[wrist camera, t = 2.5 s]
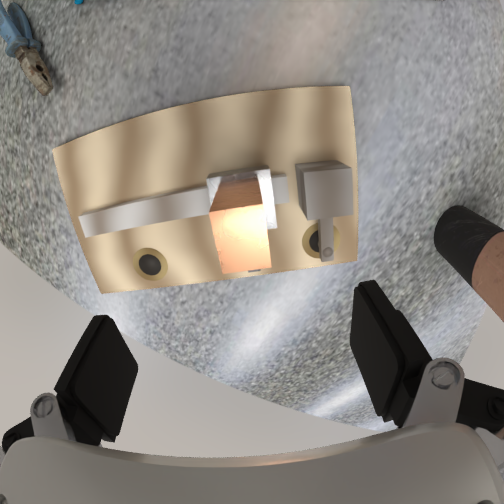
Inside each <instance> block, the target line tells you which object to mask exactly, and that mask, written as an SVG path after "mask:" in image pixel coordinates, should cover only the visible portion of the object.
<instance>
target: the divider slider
mask: <svg viewBox="0 0 504 504" xmlns="http://www.w3.org/2000/svg"><path fill="white" fill-rule="evenodd" d="M206 181H207V186H208V191H209V196H210V201H211V208H210V210H209V216H210V220H211V225H212V229H213V234H214V239H215V243H216V248H217V252H218V256H219V261H220V265H221V270H222V274H227V273H234V272H242V271H248V273H249V272H257V271H261V269H264V268H271V267H272V266H271V258H270V250H269V243H268V235H267V229H273V228H277V222H276V213H275V205H274V197H273V189H272V182H271V174H270V168H269V166H268V165H262V166H255V167H248V168H241V169H235V170H228V171H222V172H217V173H211V174H209V175H208V176H207V178H206Z"/></svg>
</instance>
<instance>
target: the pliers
mask: <svg viewBox="0 0 504 504" xmlns="http://www.w3.org/2000/svg"><path fill="white" fill-rule="evenodd" d="M7 12H8V14H9V15H10V17H11V19H12V20H11V19H10V17H9V16H8V14H7ZM7 12H6V11H5V9H4V7H3V5H2V2H1V0H0V35H1V36H2V37H3V39H4V40H5V41H6V42H7V44H8V46H7V48H6V50H5V52H6V54H7V55H8V56H10V57H14V58H15V57H16V58H17V59H18V60H19V62H20V66H21V68H22V70H23V72H24V73H25V75H26V77H27V78H28V79H29V81H30V82H31V83H32V84H33V85H34V86H35V87H36V89H37V90H38V91H39V92H40V93H41V94H42V95H43V96H45V95H46V96H47V95H48V94H49V93H50V91H51V90H52V89H53V85H52V81H51V78H50V75H49V71H48V69H47V67H46V65H45V63H44V62H43V60H42V59H41V58H40V56H39V53H38V52H39V51H40V49H41V44H40V42H38V41H37V40H34V39H32V34H31V29H30V25H29V22H28V19H27V17H26V15H25V13H24V12H23V10H22V9H21V8H20V7H19V6H18V5H17V4H16V3H10V5H9V7H8V10H7Z"/></svg>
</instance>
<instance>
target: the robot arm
mask: <svg viewBox="0 0 504 504" xmlns="http://www.w3.org/2000/svg"><path fill="white" fill-rule="evenodd" d="M436 1H444V0H436ZM350 346H351V349H352V352H353V354H354V357H355V359H356V362H357V364H358V367H359V369H360V372H361V374H362V377H363V379H364V382H365V385H366V387H367V390H368V393H369V395H370V398H371V401H372V403H373V406H374V409H375V412H376V414H377V416H382V418H383V421H384V423H385V422H388V421H391V420H393V421H394V423H395V425H397V428H396V429H395V430H391V431H388V432H384V433H380V434H376V435H372V436H369V437H365V438H361V439H357V440H353V441H349V442H344V443H340V444H335V445H330V446H325V447H320V448H315V449H309V450H303V451H296V452H289V453H281V454H272V455H263V456H249V457H227V458H194V457H193V458H192V457H173V456H159V455H149V454H140V453H133V452H126V451H120V450H114V449H108V448H103V447H102V445H101V443H100V442H101V439H103V440H104V441H109V442H115V439H116V436H118V435H119V433H120V430H121V426H122V422H123V418H124V415H125V412H126V408H127V405H128V402H129V398H130V395H131V392H132V388H133V385H134V382H135V379H136V376H137V373H138V364H137V362H136V360H135V359H134V357H133V355H132V354H131V352H130V350H129V348H128V346H127V345H126V343H125V341H124V339H123V337H122V335H121V333H120V332H119V330H118V328H117V326H116V324H115V322H114V320H113V319H112V318H110V317H109V316H108V315H96V316H94V317H93V318H92V320H91V322H90V323H89V325H88V327H87V328H86V330H85V332H84V333H83V335H82V337H81V339H80V340H79V342H78V344H77V346H76V347H75V349H74V351H73V353H72V355H71V357H70V359H69V360H68V362H67V364H66V366H65V368H64V370H63V372H62V374H61V376H60V378H59V380H58V382H57V384H56V386H55V388H54V390H55V391H56V392H57V395H56V396H55V395H53V394H52V393H43V394H41V395H39V396H38V397H37V398H36V399H35V400H34V401H33V403H32V405H31V409H30V412H31V413H30V414H31V417H29V418H28V419H26V420H24V421H23V422H21V423H19V424H18V425H16V426H14V427H12V428H11V429H9V430H8V431H7V432H6V433H5V434H4V436H3V441H2V447H1V446H0V504H504V390H503V389H499V388H495V387H492V386H489V385H485V384H482V383H479V382H475V381H472V380H469V379H466V378H464V371H463V369H462V367H461V366H460V365H459V364H458V363H457V362H456V361H454V360H452V359H449V358H436V359H434V360H432V358H431V356H430V355H429V353H428V352H427V350H426V348H425V347H424V345H423V344H422V342H421V341H420V339H419V337H418V336H417V334H416V333H415V331H414V330H413V328H412V327H411V325H410V324H409V322H408V321H407V319H406V318H405V316H404V315H403V313H402V312H401V311H399V310H395V308H394V307H393V305H392V304H391V302H390V301H389V299H388V298H387V296H386V295H385V294H384V292H383V291H382V289H381V288H380V287H379V285H378V284H377V282H376V281H375V280H370V281H364V282H360V283H359V285H358V287H355V289H354V299H353V312H352V323H351V333H350Z"/></svg>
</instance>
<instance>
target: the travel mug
mask: <svg viewBox="0 0 504 504" xmlns="http://www.w3.org/2000/svg"><path fill="white" fill-rule="evenodd" d="M434 243H435V247H436V249H437V251H438V252H439V253H440V254H441V255H442V256H443V257H444V258H445V259H446V260H447V261H448V262H449V263H450V264H451V265H452V266H453V268H454V269H455V270H456V271H457V272H458V273H459V274H460V275H461V276H462V277H463V278H464V279H465V280H466V281H467V283H468V284H469V285H470V286H471V287H472V288H473V289H474V290H475V291H476V292H477V293H478V295H479V296H480V297H481V298H482V299H483V300H484V301H485V302H486V303H487V304H488V305H489V306H490V307H491V308H492V310H493V311H494V312H495V313H496V314H497V315H498V316H499V317H500V318H501V320H502V321H503V322H504V230H503V229H502V228H500V227H498V226H497V225H495V224H493V223H492V222H490V221H488V220H487V219H485V218H483V217H482V216H480V215H478V214H476V213H475V212H473V211H471V210H469V209H467V208H465V207H463V206H454V207H451V208H450V209H448V210H447V211H446V212H445V213H444V214H443V215H442V216H441V218H440V220H439V221H438V224H437V226H436V229H435V234H434Z"/></svg>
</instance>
